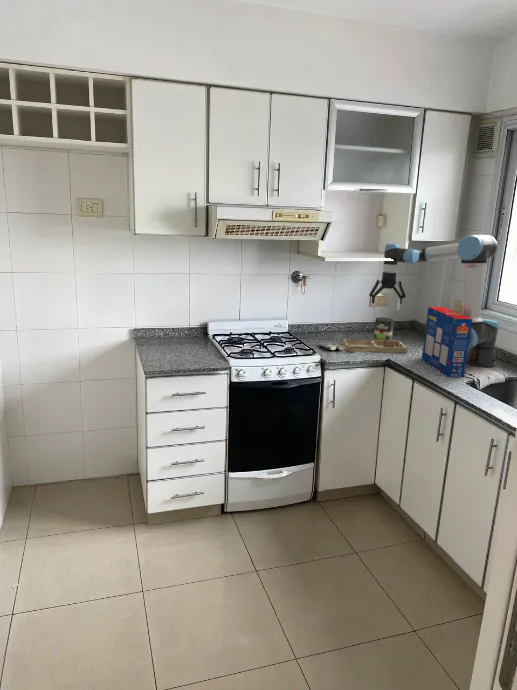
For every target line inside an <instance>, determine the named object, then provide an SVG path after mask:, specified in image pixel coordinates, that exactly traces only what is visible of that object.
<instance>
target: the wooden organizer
mask: <svg viewBox="0 0 517 690" xmlns="http://www.w3.org/2000/svg"><path fill="white" fill-rule="evenodd" d="M393 341H394V347H383V346H384V340H374V339H367V338H366V339H363V338H361V339H359V338H342V346H344V347H345V348H344V347H343V348H344V350H345V351H346V353H351V354H352V353H355V354H356V352H358V353H359V352H362V353H363V352H366V353H367V352H368V353H383V354H384V353H385V354H386V353H387V354H389V353H390V354H408V350H409V349H408V348H407V346H406V345H405V344H404V343H402V342H401V340H393Z"/></svg>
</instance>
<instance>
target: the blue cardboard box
mask: <svg viewBox="0 0 517 690" xmlns="http://www.w3.org/2000/svg"><path fill="white" fill-rule="evenodd" d="M427 309H428V310H427V315H426V322H425V330H424V331H425V332H424V340H423V346H422V354H421V359H422V360H424V361H425V362H424V361H423V362H424V363H426V364H427V363H428V364H427V365H429V364H430V365H431V366H430V365H429V366H430V367H432V368H433V367H434V368H433V369H435V370H436V369H437V370H436V371H437V372H439V371H440V372H439V373H440V374H442V373H443V374H442V375H444V376H445V375H446V376H445V377H447V378H464V377H465V371H466V364H467V363H466V359H467V352H468V349H469V348H468V346H469V339H470V332H471V326H472V319H471V318H469V317H466V316H464V315H462V313H459V312H456V311H453V310H452V309H449V308H447V307H443V306H428V307H427Z"/></svg>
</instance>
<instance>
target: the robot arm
mask: <svg viewBox="0 0 517 690" xmlns="http://www.w3.org/2000/svg"><path fill="white" fill-rule="evenodd" d="M497 251H498V242H497V240H496V239H495V237H493V236H492V235H489V234H471V235H470V234H469V235H466V236H464V237H463V238H461V240H460V241H459V242H458V243H451V244H450V243H449V244H444V245H436V246H428V247H421V248H420V247H419V248H418V247H417V248H401V247H400V244H399V243H386V244H385V246H384V251H383V252H384V257H385V258H391V259H393V260H394V261H384V260H383V265H382V266H383V267H382V271H383V272H382V277H381V280H378V279H376V280H375V284H374V285H373V287H372V289H371V291H370V292H369V294H368V296H369V297H371V303H372V309H373V310H376V304H377V296H378V294H380V292H382V290H384V289H386V290H387V289H390V290H392V289H393V291H394V293H396V295H397V296H398V298H397V303H396V310H397V311H400V306H401V305H402V302H403V299H405V298H406V297H407V296H406V293H405V290H404V288H403V285H402V281H401V280H397V270H398V263H403V264H408V265H411V264H416V263H427V262H433V261H435V262H436V261H443V260H451V259H452V260H453V259H454V260H455V259H461V260H460V264H461V265H462V266H463V285H462V307H461V315H464V316H466V317H469V318H471V319H472V326H471V332H470V339H469V346H468V352H467V359H466V364H469V365H470V366H471V365H472V366H474V365H475V366H476V367H480V366H483V367H482V368H493V367H496V365H497V358H496V353H495V347H496V343H497V336H498V332H499V322H498V321H496V320H493V319H488V318H482V317H481V315H482V314H481V313H482V297H483V283H484V282H483V280H484V267H486V265H488V259H490V258H492V257H494V255H495V254H496V253H497ZM384 257H383V258H384ZM380 284H381V285H380ZM379 285H380V287H379V288H378V286H379ZM396 285H397V286H398V288H399V290H398V289H397V288H396Z"/></svg>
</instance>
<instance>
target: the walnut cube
mask: <svg viewBox="0 0 517 690" xmlns="http://www.w3.org/2000/svg"><path fill="white" fill-rule="evenodd" d="M394 341H395V340H394V339H392V340H384V346H383V347H394Z"/></svg>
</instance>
